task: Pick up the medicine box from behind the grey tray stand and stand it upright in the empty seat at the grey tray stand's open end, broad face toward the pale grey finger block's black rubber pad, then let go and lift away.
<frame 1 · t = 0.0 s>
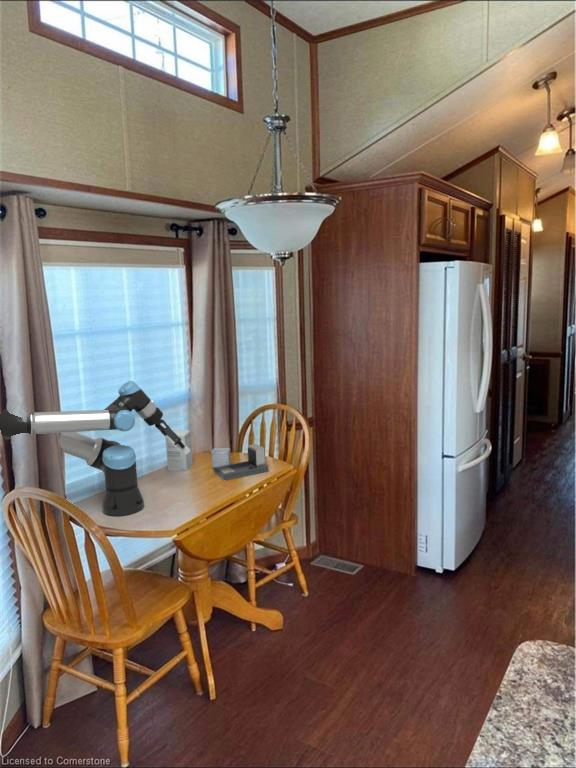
hand: (182, 448, 238), 15 cm above the table, tool tilted 35°, fingers open, 13 cm apart
grey tray stand: (241, 472, 252), on the table
medicine box: (221, 468, 260), on the table
supplement box: (180, 468, 262), on the table
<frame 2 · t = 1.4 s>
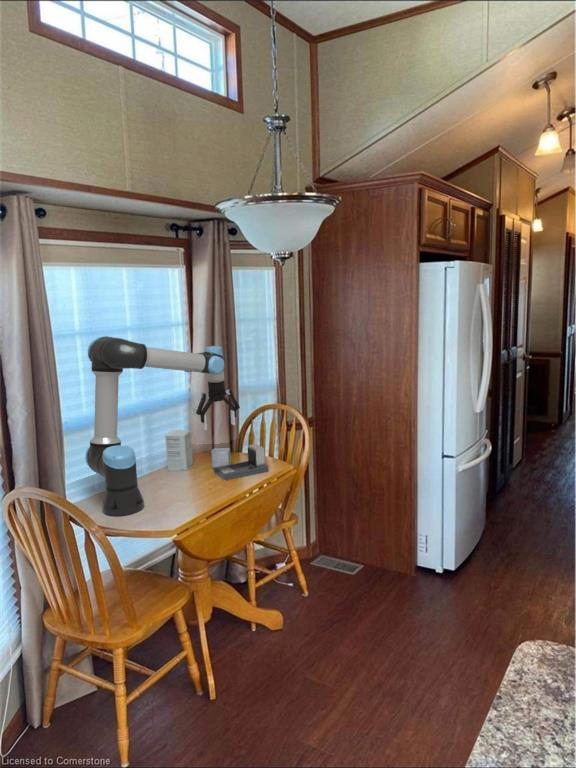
hand: (219, 426, 256), 19 cm above the table, tool pointing down, fingers open, 13 cm apart
nothing on the table moved.
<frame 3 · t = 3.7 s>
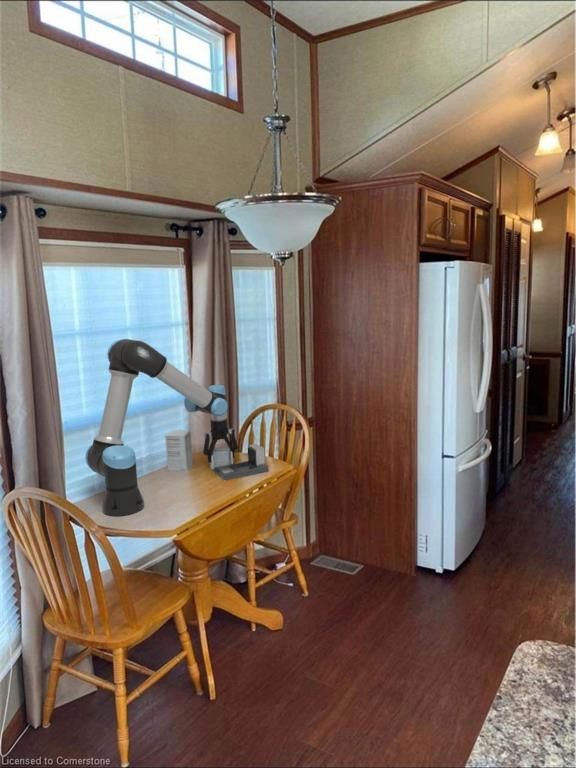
hand: (221, 466, 260), 0 cm above the table, tool pointing down, fingers closed on medicine box, 9 cm apart
medicine box: (221, 467, 260), on the table, touching gripper
everything else where it was.
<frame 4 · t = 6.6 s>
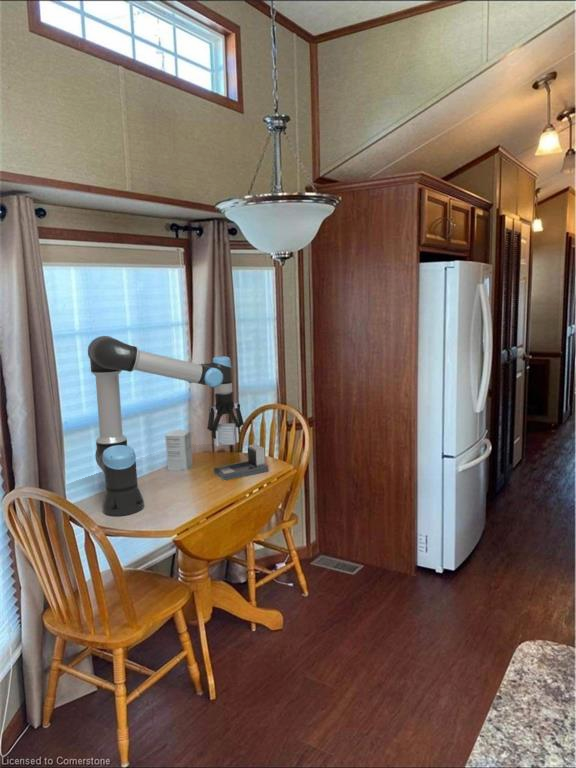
hand: (226, 443, 247), 14 cm above the table, tool pointing down, fingers closed on medicine box, 9 cm apart
medicine box: (226, 444, 247), point 14 cm above the table, touching gripper
everything else where it was.
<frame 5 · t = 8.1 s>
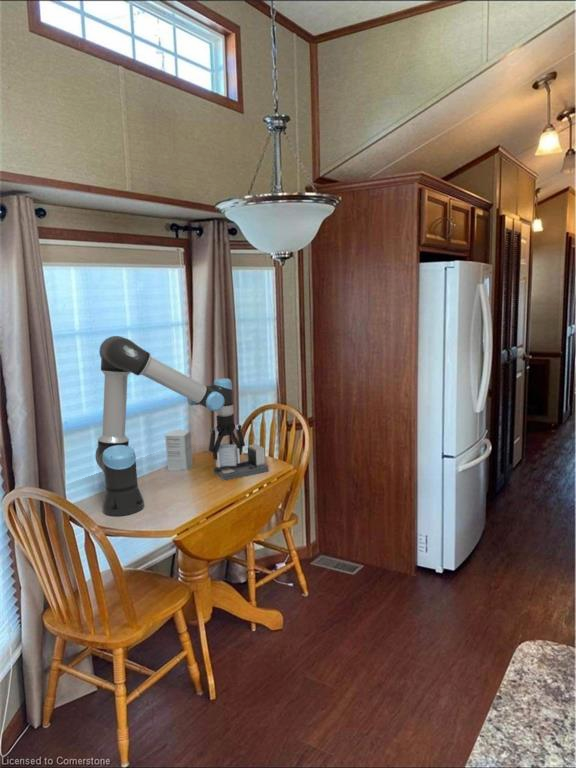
hand: (228, 464, 249), 5 cm above the table, tool pointing down, fingers closed on medicine box, 9 cm apart
medicine box: (228, 465, 249), point 4 cm above the table, touching gripper
everything else where it was.
when the fingers open (4 cm above the table, at t = 9.2 s): medicine box drops 2 cm, resting on grey tray stand.
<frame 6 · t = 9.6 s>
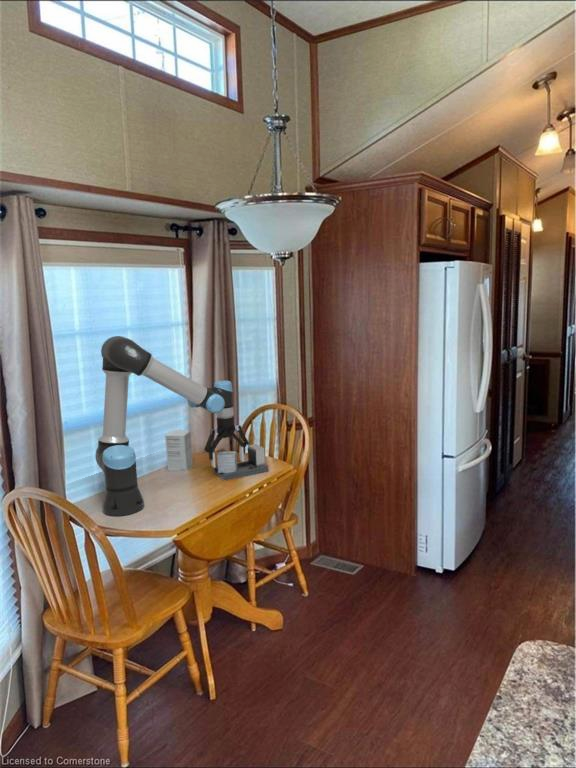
hand: (227, 463, 248), 5 cm above the table, tool pointing down, fingers open, 13 cm apart
medicine box: (227, 472, 249), point 1 cm above the table, touching grey tray stand
everything else where it was.
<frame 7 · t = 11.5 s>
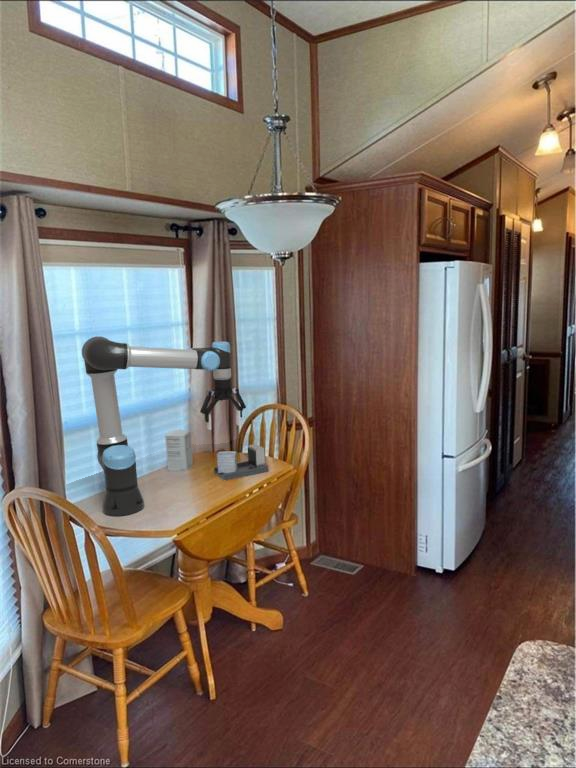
hand: (224, 427, 243), 22 cm above the table, tool pointing down, fingers open, 13 cm apart
nothing on the table moved.
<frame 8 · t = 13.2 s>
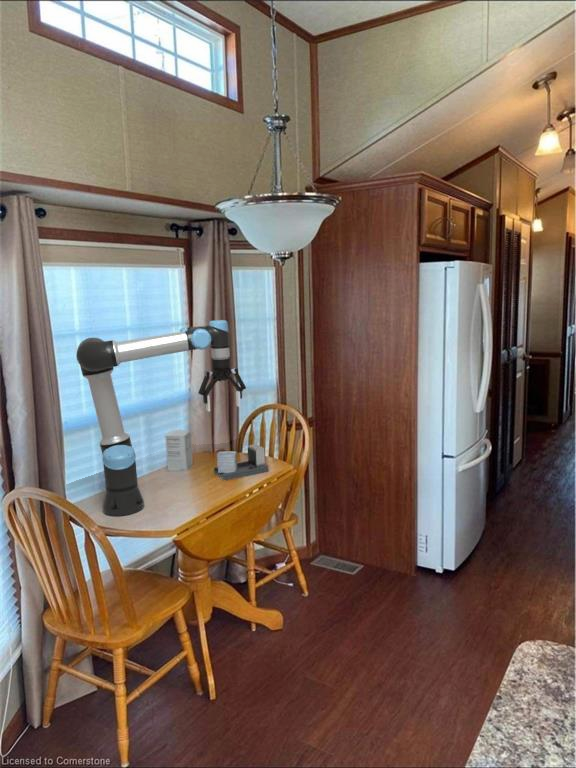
hand: (223, 408, 236), 32 cm above the table, tool pointing down, fingers open, 13 cm apart
nothing on the table moved.
at the end: medicine box 0.3 cm from the target spot on the grey tray stand, point 1.4 cm above the grey tray stand's base; medicine box tilted 0°; the gripper is holding nothing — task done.
